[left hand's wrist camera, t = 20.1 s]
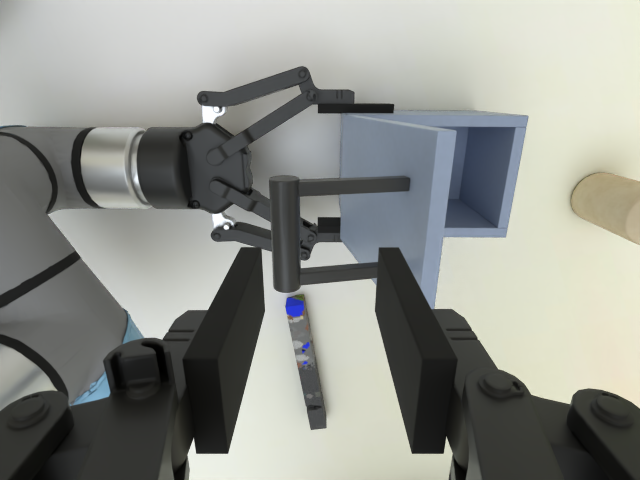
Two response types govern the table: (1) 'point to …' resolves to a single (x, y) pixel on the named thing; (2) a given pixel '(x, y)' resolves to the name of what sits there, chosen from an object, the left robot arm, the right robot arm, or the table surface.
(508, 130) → the chest
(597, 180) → the candle
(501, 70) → the table surface
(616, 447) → the left robot arm
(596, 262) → the table surface
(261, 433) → the table surface
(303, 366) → the pillar
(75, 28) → the table surface
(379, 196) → the lid
